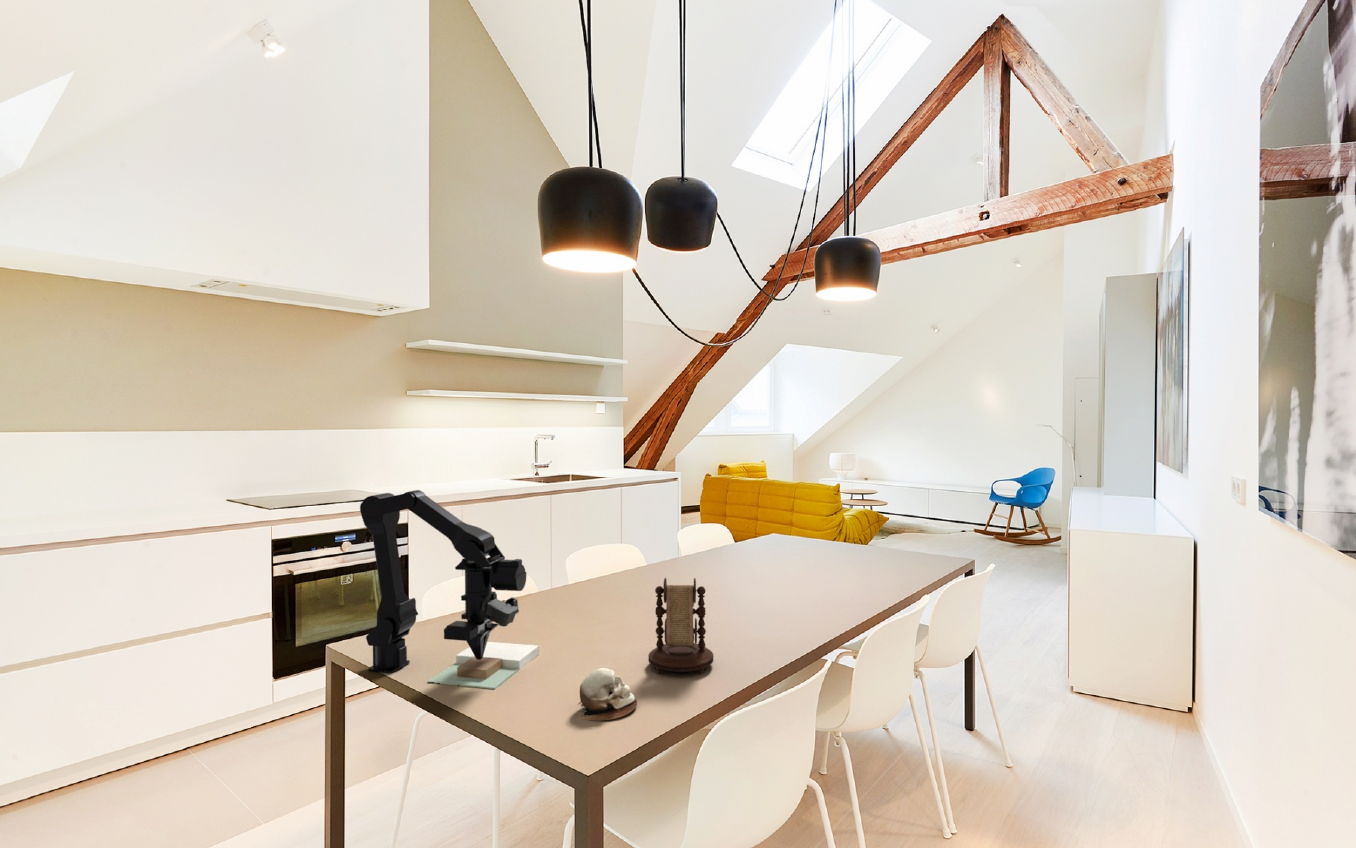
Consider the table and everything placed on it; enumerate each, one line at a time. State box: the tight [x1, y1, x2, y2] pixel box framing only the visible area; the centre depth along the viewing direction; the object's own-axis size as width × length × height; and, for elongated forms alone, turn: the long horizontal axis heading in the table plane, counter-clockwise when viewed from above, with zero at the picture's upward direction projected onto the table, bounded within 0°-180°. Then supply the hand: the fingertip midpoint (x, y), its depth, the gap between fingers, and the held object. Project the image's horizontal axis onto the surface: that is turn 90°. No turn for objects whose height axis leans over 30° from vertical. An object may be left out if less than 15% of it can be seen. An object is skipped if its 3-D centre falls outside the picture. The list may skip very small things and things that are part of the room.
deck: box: [455, 641, 540, 671], centre depth 156 cm, size 16×10×2 cm, turn 76°
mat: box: [427, 662, 520, 690], centre depth 145 cm, size 16×11×1 cm
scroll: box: [648, 577, 714, 675], centre depth 150 cm, size 15×15×20 cm
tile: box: [457, 656, 502, 679], centre depth 147 cm, size 7×7×2 cm
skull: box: [577, 667, 638, 722], centre depth 129 cm, size 12×10×10 cm
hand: (479, 659), depth 147 cm, fingers closed
